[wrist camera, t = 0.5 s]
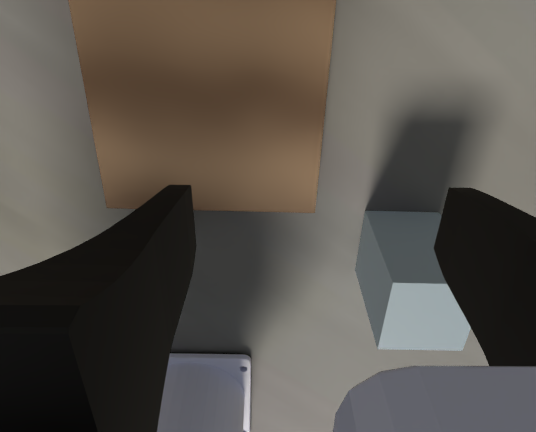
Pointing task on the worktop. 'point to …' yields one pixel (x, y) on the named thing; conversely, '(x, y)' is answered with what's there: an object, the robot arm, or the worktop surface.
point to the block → (407, 283)
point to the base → (207, 98)
